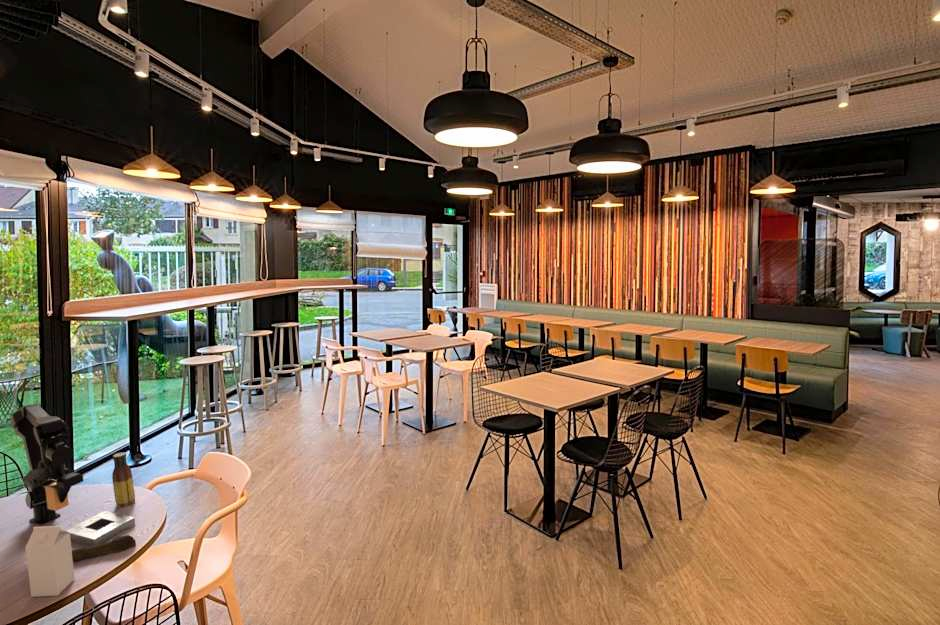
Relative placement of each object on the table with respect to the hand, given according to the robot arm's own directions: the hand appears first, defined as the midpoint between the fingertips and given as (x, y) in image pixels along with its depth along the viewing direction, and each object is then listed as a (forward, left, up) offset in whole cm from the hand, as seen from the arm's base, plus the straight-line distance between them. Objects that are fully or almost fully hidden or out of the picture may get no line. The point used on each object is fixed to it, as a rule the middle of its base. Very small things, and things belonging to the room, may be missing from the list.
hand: (57, 501), depth 174 cm
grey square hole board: (+11, +5, -12) cm, 17 cm away
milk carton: (+26, -20, -12) cm, 35 cm away
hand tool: (+23, -3, -13) cm, 26 cm away
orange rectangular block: (0, 0, -2) cm, 2 cm away
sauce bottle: (+1, +22, -12) cm, 25 cm away
